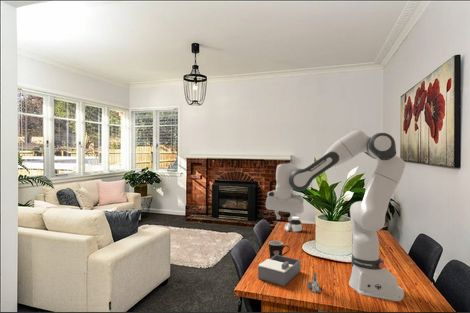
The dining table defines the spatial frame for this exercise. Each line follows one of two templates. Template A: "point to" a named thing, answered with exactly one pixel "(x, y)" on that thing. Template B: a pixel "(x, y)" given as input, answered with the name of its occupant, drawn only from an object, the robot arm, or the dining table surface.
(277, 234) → the dining table surface
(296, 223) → the spread jar
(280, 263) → the sliding lid
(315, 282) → the house of cards
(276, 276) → the box
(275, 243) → the coffee mug
